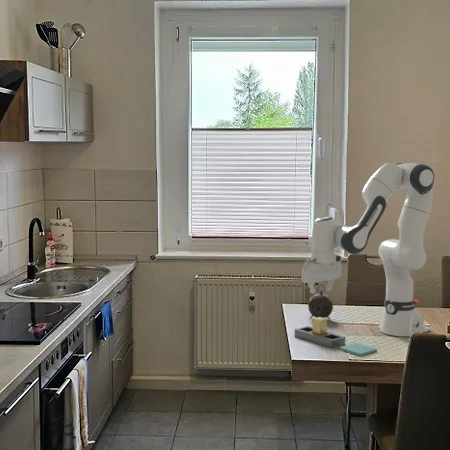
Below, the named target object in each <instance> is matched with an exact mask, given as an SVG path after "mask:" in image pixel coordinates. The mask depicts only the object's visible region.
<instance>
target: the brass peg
mask: <svg viewBox="0 0 450 450" xmlns="http://www.w3.org/2000/svg"><path fill="white" fill-rule="evenodd" d="M312 327H313V334H316V335H320V336H321V335H325V334H327V332H328V318H327V317H326V318H322V317H317V318H316V317H314V318H313V317H312Z"/></svg>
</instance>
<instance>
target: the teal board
mask: <svg viewBox="0 0 450 450" xmlns="http://www.w3.org/2000/svg"><path fill="white" fill-rule="evenodd" d="M342 350H343V352H345V351H346V352H345V353H348V352H349V354H351V353H352V354H351V355H354V354H355V355H356V356H358V357H362V355H363V356H366V355H369V353H370V354H373V353H376V352H378V349H377V348H375V347H371V346H368V345H365V344H362V343H360V342H353V343H350V344H345V345H342V346H339V351H342ZM375 351H376V352H375ZM372 352H373V353H372ZM365 354H366V355H365Z"/></svg>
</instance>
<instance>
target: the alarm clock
mask: <svg viewBox="0 0 450 450" xmlns="http://www.w3.org/2000/svg"><path fill="white" fill-rule="evenodd" d="M321 286H323V288H324V290H319V288H320V287H321ZM325 290H326V286H325V285H323V284H319V285H318V286H317V291H318V292H316V293H314V294H312V295H311V296H310V298H309V300H308V303H307V305H308V311H309V313H310V316H309V320H310V319H313V317H314V318H317V317H322V318H326V319H327V320H328V321H331V320H330V317H329V316H330V315H331V314H332V312H333V309H334V305H333V301H332V298H331V297H330V296H329V295H327V293H324V291H325Z"/></svg>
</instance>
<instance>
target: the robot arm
mask: <svg viewBox="0 0 450 450" xmlns="http://www.w3.org/2000/svg"><path fill="white" fill-rule="evenodd" d="M434 182H435V173H434V170H433V169H432V167H430V166H428V165H427V164H422V163H421V164H420V163H416V162H405V163H403V162H399V163H394V162H385V163H384V164H382V165H381V166H380V167H379V168H378V169H377V170H376V171H375V172H374V173H373V174H372V175H371V176H370V177H369V179H368V180H367V182H366V184H365V185H364V186H363V188H362V191H361V196H362V199H363V201H364V202H365V204H366V205H367V206H366V209H365V212H364V213H363V215H362V217H361V218H360V219H359V221H358V223H357V224H356V225H353V226H349V225H347V224H346V225H345V224H343V223H341V222H339V221H337V220H336V219H335V218H334V217H332V216H320V217H318V218H316V219H315V220H314V222H313V225H312V232H311V240H312V246H311V251H310V252H311V255H310V256H311V257H310V259H309V258H308V259H306V260H305V262H304V263H303V266H302V269H301V277H300V278H301V283H303V284H307V285H308V288H309V293H310V294H312V295H314V294H317V289H316V288H315V283H321V282H325V281H327V285H326V286H325V290H326V291H327V292H328V291H329V292H330V291H332V286H333V285H334V282H335V280H338V279H340V278H341V277H342V270H343V269H342V267H343V266H342V261H343V256H341V255H339V254H337V253H335V248H337V249H340V250H344V251H345V252H347V253H349V254H352V255H357V254H360V253H361V252H363V251H364V250H365V249H366V248H367V245H368V243H369V240H370V237H371V234H372V232H373V231H374V229H375V228H376V226H377V224H378V222H379V221H380V219H381V217H382V216H383V214H384V213H385V211H386V208H387V203H388V201H389V199H391V197H392V196H393V194H394V193H395V191H396V190H397V189H403V190H406V198H405V199H404V200H405V201H404V203H403V205H402V209H401V212H400V215H399V218H398V220H397V227H398V229H399V236H398V237H399V239H395V238H394V239H386V240H383V241H382V242H381V243H380V245H379V247H378V252H377V253H378V256H379V258H380V260H381V262H382V264H383V265H382V266H383V270H384V273H385V282H386V283H385V298H384V301H383V306H384V308H383V309H382V313H381V320H380V324H378V328H379V329H380V330H379V331H380V332H381V333H382V334H386V335H388V336H389V335H390V336H393V337H410V336H411V335H412V334H413V333H416V332H425V333H427V332H428V331H430V327H428V326H426V325H424V324H425V319H424V316H423V315H422V314H421V313H420V312H419V311H418V310H417V309H416V305H419V303H420V301H419V300H418V299H413V298H414V279H413V278H412V277H411V274H410V271H415V270H416V271H418V270H420V269H421V268H423V266H424V265H425V263H426V261H427V254H426V251H425V250H424V234H425V230H426V225H427V221H428V219H429V216H430V213H431V210H432V205H433V201H434V191H433V189H432V188H433V186H434ZM410 338H411V337H410Z"/></svg>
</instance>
